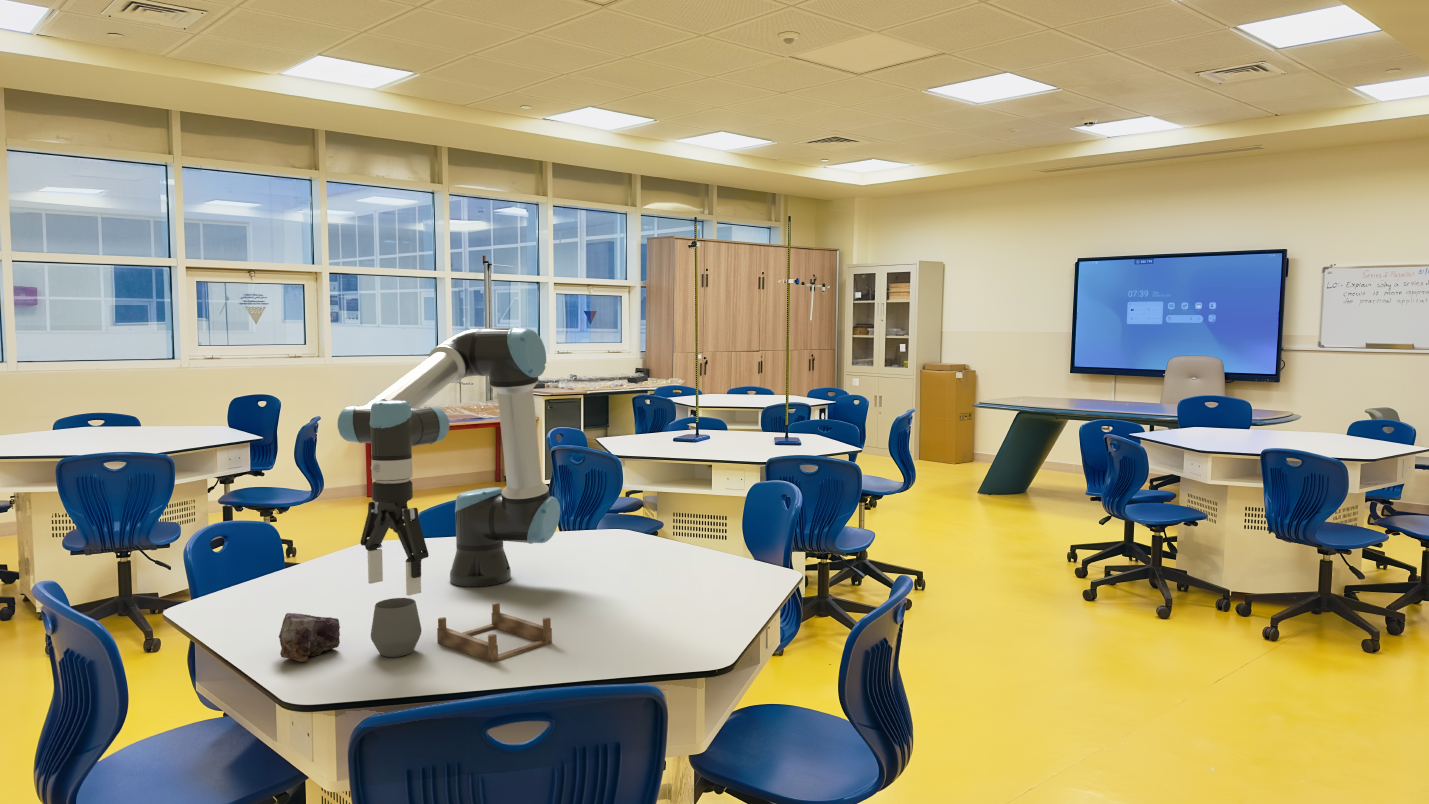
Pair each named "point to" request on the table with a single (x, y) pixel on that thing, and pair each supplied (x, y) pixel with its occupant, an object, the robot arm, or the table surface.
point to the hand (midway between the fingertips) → (394, 588)
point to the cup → (395, 627)
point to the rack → (495, 636)
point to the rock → (307, 636)
